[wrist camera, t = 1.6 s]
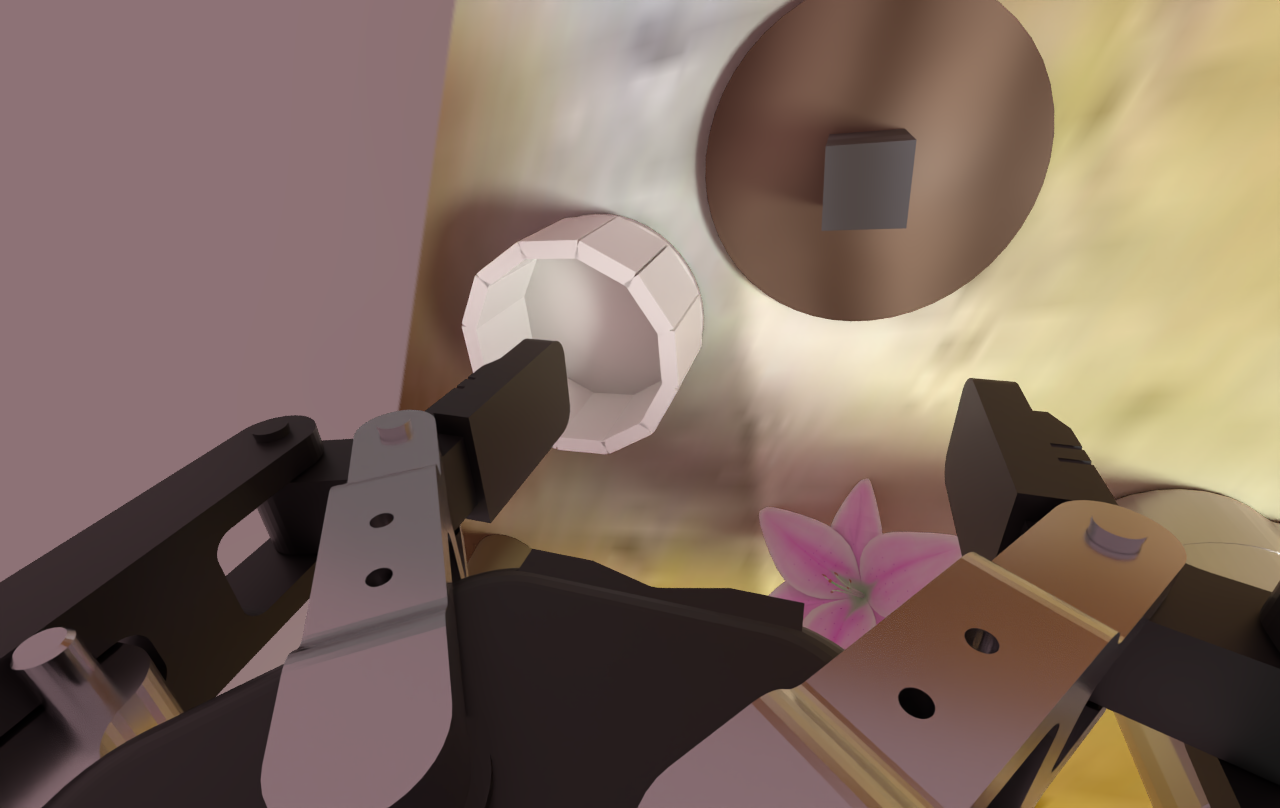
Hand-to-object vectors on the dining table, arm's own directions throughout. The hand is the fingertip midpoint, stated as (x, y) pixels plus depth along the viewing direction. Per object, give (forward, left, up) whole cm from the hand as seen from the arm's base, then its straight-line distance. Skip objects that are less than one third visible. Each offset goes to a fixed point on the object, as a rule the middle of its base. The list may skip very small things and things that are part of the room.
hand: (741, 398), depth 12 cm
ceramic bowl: (+11, +5, -19) cm, 22 cm away
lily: (-3, +19, -19) cm, 27 cm away
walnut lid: (-2, -2, -19) cm, 20 cm away
